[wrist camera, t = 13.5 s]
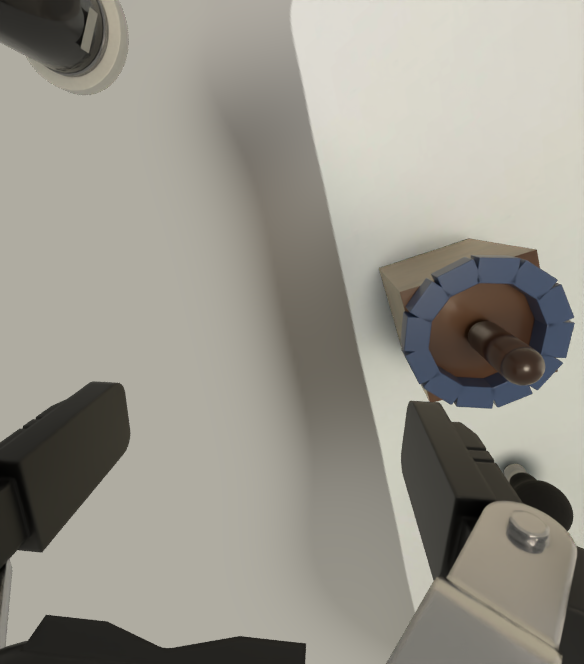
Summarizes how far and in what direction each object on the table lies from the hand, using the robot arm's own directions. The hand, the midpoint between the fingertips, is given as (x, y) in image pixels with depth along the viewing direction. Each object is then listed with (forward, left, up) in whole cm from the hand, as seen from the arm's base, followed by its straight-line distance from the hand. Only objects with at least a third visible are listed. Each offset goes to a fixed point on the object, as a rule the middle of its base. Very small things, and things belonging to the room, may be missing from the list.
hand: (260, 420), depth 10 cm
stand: (+8, +12, -34) cm, 37 cm away
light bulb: (+33, +16, -34) cm, 50 cm away
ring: (+7, +12, -20) cm, 24 cm away
